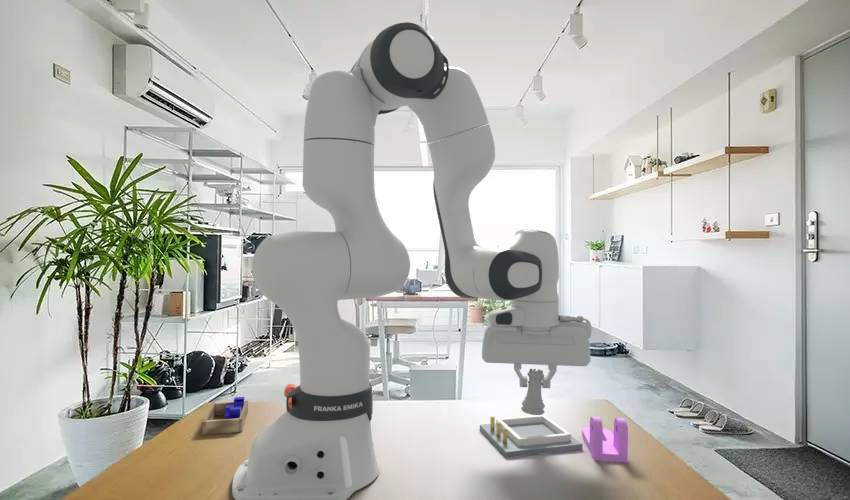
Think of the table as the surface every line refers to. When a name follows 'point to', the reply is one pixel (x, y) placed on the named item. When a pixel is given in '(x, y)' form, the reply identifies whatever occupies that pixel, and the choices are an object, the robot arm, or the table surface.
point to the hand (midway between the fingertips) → (534, 387)
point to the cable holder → (235, 408)
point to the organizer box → (223, 420)
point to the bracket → (607, 440)
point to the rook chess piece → (534, 394)
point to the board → (528, 436)
